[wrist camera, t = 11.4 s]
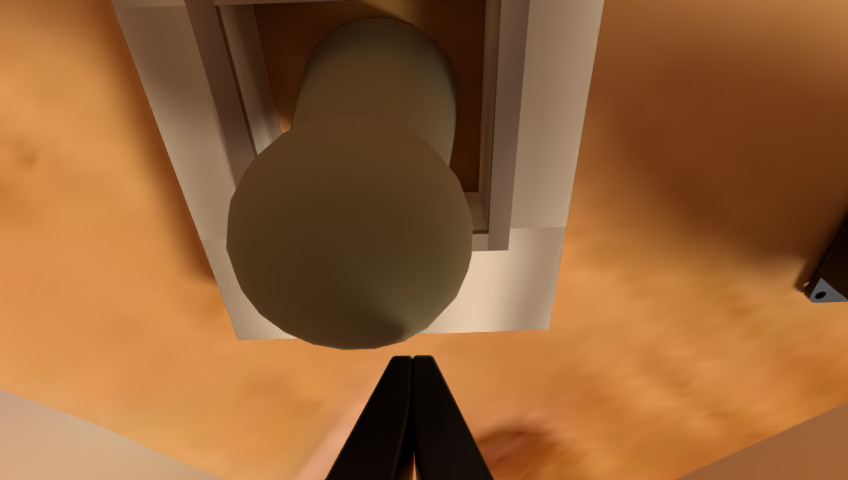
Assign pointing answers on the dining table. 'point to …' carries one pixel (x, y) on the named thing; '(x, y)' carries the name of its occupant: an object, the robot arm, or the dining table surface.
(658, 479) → the dining table surface
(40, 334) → the dining table surface
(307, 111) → the olive tall rounded piece
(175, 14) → the socket board
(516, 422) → the dining table surface
